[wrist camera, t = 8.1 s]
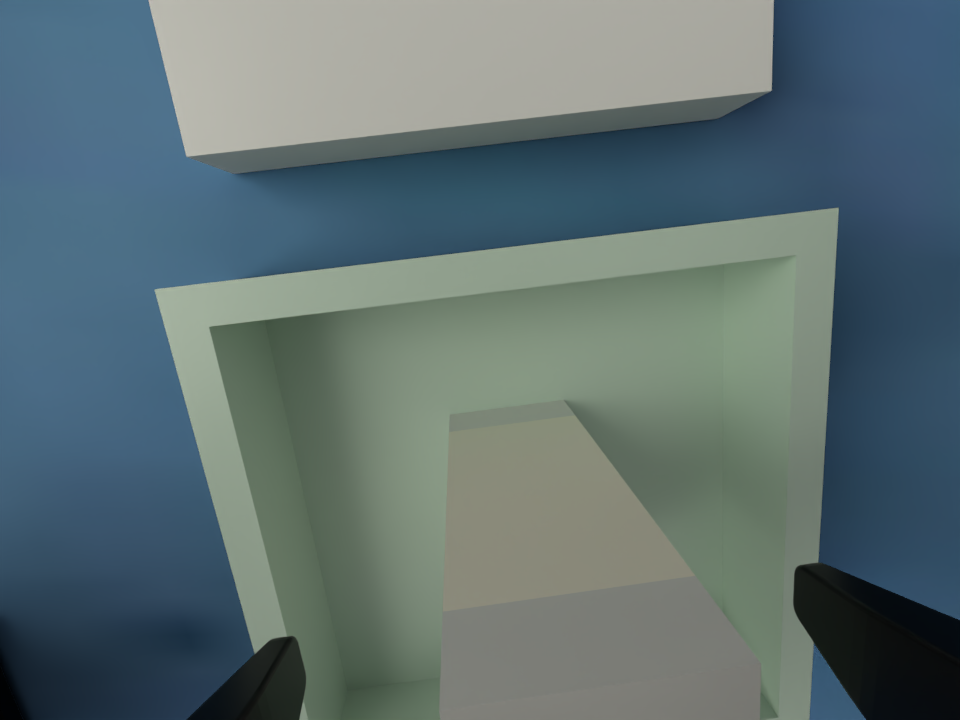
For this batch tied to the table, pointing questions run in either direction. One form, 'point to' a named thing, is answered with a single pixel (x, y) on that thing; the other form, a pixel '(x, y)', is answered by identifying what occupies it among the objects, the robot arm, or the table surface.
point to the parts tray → (498, 384)
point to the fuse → (571, 588)
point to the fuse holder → (447, 72)
